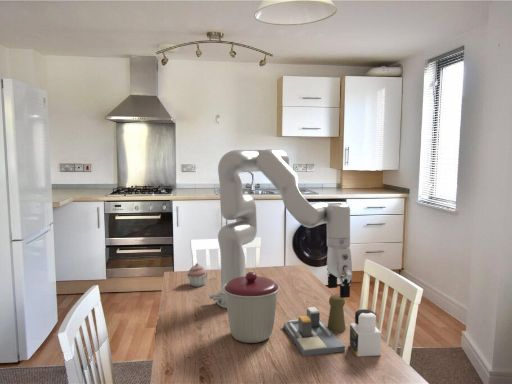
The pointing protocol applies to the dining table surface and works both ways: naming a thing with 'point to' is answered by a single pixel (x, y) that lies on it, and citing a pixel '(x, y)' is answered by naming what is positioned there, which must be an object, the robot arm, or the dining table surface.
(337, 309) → the cork
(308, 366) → the dining table surface
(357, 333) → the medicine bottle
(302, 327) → the block
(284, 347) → the dining table surface
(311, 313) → the toggle plain
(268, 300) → the canister
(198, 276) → the cupcake
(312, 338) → the panel
